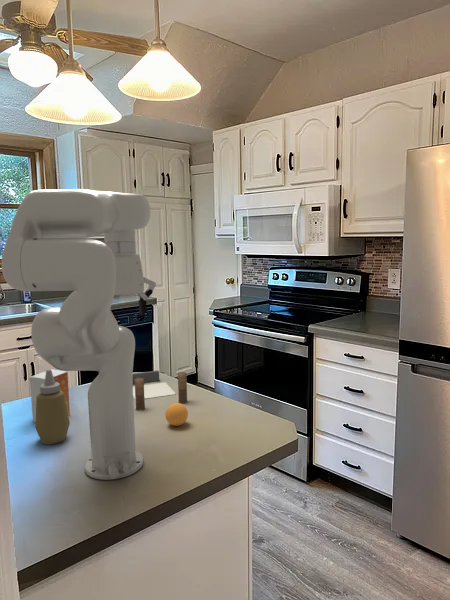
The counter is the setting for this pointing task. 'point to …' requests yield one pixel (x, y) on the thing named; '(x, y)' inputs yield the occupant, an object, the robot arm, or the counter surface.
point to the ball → (176, 414)
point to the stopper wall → (147, 376)
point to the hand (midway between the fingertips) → (123, 317)
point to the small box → (40, 379)
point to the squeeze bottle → (51, 412)
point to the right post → (182, 387)
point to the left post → (139, 394)
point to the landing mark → (156, 390)
